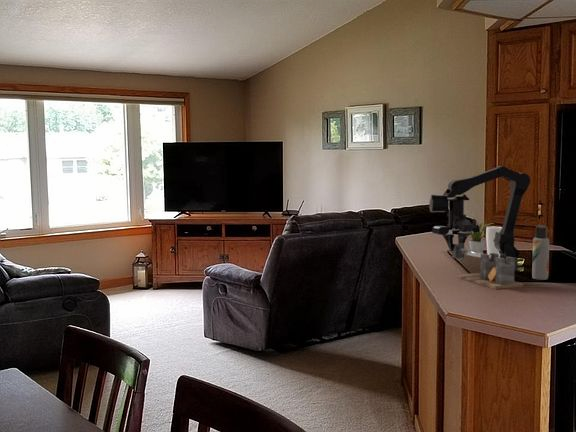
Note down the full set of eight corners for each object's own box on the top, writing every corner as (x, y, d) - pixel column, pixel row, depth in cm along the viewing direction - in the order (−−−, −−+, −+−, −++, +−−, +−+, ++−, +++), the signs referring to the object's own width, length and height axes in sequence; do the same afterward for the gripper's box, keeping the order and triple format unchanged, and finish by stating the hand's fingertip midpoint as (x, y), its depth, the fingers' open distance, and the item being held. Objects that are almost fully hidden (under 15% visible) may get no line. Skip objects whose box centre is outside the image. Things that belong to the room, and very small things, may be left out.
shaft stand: (457, 277, 249) (457, 250, 248) (483, 274, 253) (484, 248, 252) (495, 289, 227) (495, 260, 226) (523, 286, 231) (524, 257, 230)
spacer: (487, 276, 237) (493, 267, 233) (498, 275, 239) (504, 266, 235) (490, 281, 235) (496, 272, 232) (502, 280, 237) (508, 271, 233)
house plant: (491, 251, 309) (492, 217, 307) (498, 256, 295) (499, 220, 294) (461, 251, 310) (461, 217, 309) (466, 256, 297) (466, 220, 295)
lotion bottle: (547, 277, 246) (549, 225, 244) (548, 280, 241) (550, 226, 239) (531, 276, 248) (533, 224, 246) (532, 279, 243) (533, 226, 241)
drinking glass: (502, 263, 278) (503, 228, 276) (486, 262, 279) (486, 228, 278) (500, 260, 284) (501, 226, 283) (484, 260, 286) (485, 226, 284)
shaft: (451, 257, 259) (452, 243, 258) (460, 256, 260) (460, 243, 260) (485, 266, 238) (485, 251, 238) (494, 265, 240) (495, 250, 239)
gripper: (447, 214, 247) (447, 255, 249) (488, 212, 253) (488, 252, 255) (431, 212, 258) (431, 251, 259) (471, 210, 264) (471, 248, 265)
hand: (455, 250), depth 259 cm, fingers closed on shaft, 4 cm apart
